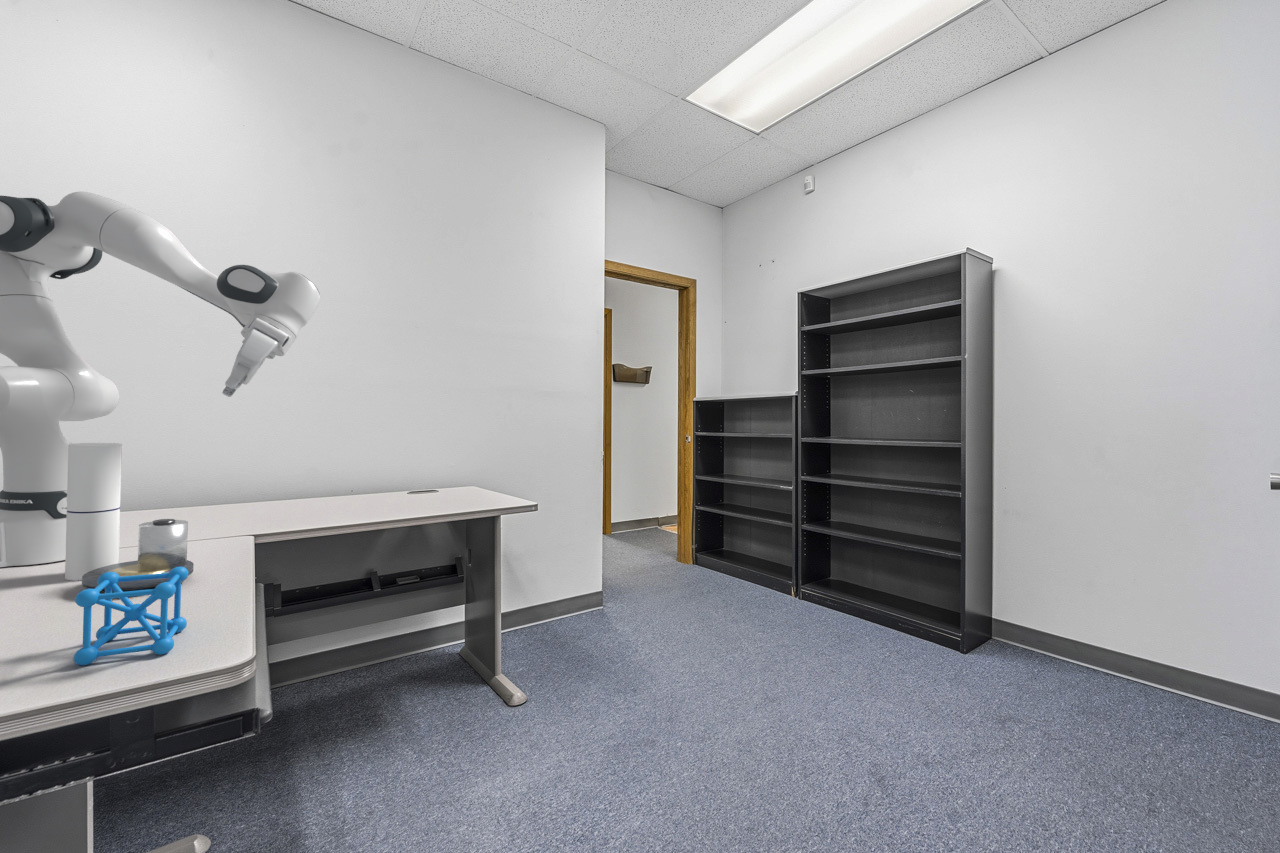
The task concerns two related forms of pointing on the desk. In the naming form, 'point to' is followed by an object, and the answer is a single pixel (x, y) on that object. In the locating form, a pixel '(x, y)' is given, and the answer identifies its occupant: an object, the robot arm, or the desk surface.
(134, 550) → the desk surface
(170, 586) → the molecular structure
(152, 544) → the silver metal canister
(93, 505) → the cylindrical container
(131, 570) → the turntable platter
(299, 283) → the robot arm
